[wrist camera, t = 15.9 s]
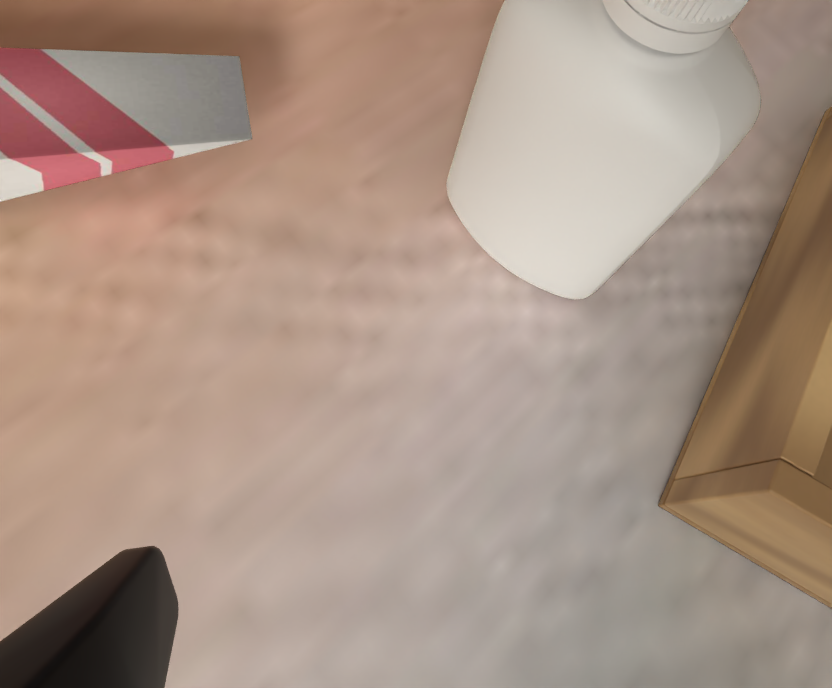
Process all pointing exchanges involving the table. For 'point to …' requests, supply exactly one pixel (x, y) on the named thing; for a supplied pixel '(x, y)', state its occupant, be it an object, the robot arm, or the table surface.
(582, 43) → the eye dropper bottle
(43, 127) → the cricket bat
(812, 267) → the crate
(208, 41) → the table surface
